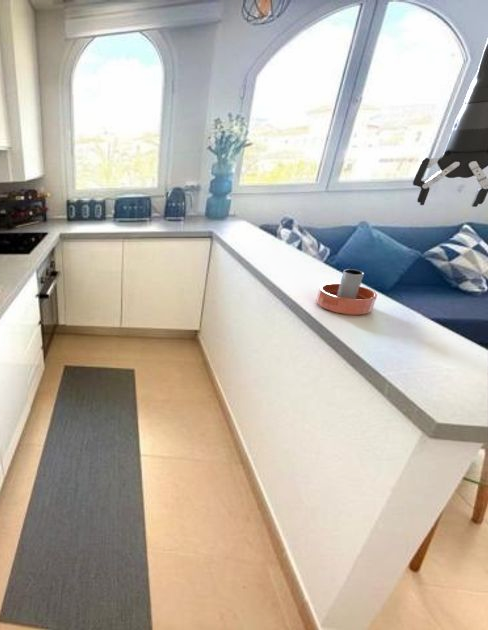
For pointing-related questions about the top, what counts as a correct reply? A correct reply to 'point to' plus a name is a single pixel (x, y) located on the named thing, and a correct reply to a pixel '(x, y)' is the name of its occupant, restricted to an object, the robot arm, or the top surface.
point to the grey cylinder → (350, 284)
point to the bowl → (346, 300)
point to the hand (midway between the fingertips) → (446, 205)
